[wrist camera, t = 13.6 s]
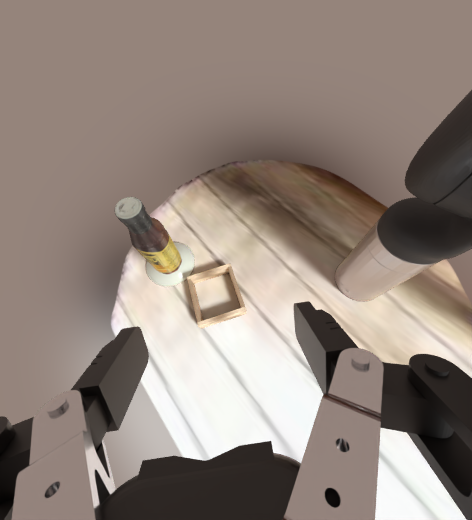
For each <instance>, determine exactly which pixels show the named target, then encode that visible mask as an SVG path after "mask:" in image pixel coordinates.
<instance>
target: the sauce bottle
mask: <svg viewBox="0 0 472 520" xmlns="http://www.w3.org/2000/svg"><path fill="white" fill-rule="evenodd" d="M115 214H116V216H117V217H118V219H119V220H120V221H121V222H123V223H124V224H125V225H126V226H127V227H128V229H129V232H130V237H131V241H132V244H133V246H134V247H135V248H136V249H137V250H138V251H139V252H140V254H141V255H142V256H143V257H144V258H145V259H146V260H147V261H148V262H149V263H150V264H151V265H152V266H153V267H154V268H155V269H156V270H157V271H158V272H160V273H163V274H171V273H173V272H176V271H177V270H178V269H179V267H180V265H181V263H182V259H181V256H180V253H179V251H178V250H177V248H176V246H175V244H174V243H173V241H172V239H171V237H170V236H169V234H168V232H167V231H166V230H165V228H164V226H163V225H162V224H161V223H160V222H159V221H158V220H157V219H155V218H151V217H150V216H149V215H148V214H147V212H146V211H145V207H144V205H143V204H142V202H141V201H140V200H139V199H137V198H135V197H128V198H124V199H122V200H121V201H119V202H118V203H117V205H116V207H115Z"/></svg>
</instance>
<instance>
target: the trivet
mask: <svg viewBox="0 0 472 520" xmlns="http://www.w3.org/2000/svg"><path fill="white" fill-rule="evenodd" d="M173 243H174V244H175V246H176V248H177V250H178V251H179V253H180V256H181V259H182V263H181V265H180V267H179V269H178V270H177V271H176V272H173V273H171V274H163V273H160V272H158V271H157V270H156V269H155V268H154V267H153V266H152V265H151V264H150V263H149V262H148V261H147V263H146V271H147V275H148V277H149V278H150V279H151V280H152V281H153V282H154V283H155V284H157V285H160V286H164V287H170V286H175V285H178V284H180V283H182V282H183V281H185V280H186V279H187V277H188V276H190V274H191V273H192V271H193V269H194V265H195V258H194V255H193V253H192V251H191V249H190V248H189V247H188V246H186V245H185V244H182V243H179V242H173Z"/></svg>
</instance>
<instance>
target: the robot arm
mask: <svg viewBox="0 0 472 520" xmlns="http://www.w3.org/2000/svg"><path fill="white" fill-rule="evenodd" d="M405 185H406V188H407V189H408V191H409V192H410V193H412V194H413V195H415V196H416V197H417V198H408V199H404V200H401V201H399V202H396V203H395V204H393V205H392V206H391V207H389V208H388V209H387V211H386V212H385V213H384V214H383V215H382V216H381V218H380V219H379V220H378V221H377V222H376V223H375V225H374V226H373V227H372V228H371V229H370V231H369V232H368V233H367V234H366V235H365V236H364V238H363V239H362V240H361V241H360V242H359V243H358V244H357V246H356V247H355V248H354V249H353V250H352V251H351V253H350V254H349V255H348V256H347V257H346V258H345V260H344V261H343V262H342V263H341V264H340V265H339V267H338V268H337V270H336V273H335V280H336V283H337V286H338V288H339V289H340V290H341V291H342V292H343V293H344V294H345V295H346V296H347V297H349V298H351V299H353V300H356V301H370V300H373V299H375V298H376V297H378V296H380V295H382V294H383V293H385V292H387V291H389V290H391V289H392V288H394V287H396V286H398V285H399V284H401V283H403V282H405V281H406V280H408V279H410V278H412V277H413V276H415V275H417V274H419V273H420V272H422V271H424V270H425V269H427V268H429V267H431V266H432V265H434V264H436V263H438V262H440V261H441V260H443V259H449V258H453V257H456V256H458V255H460V254H462V253H464V252H466V251H468V250H470V249H472V90H471V91H470V92H469V93H468V95H466V97H465V98H464V99H463V100H462V101H461V102H460V103H459V104H458V105H457V106H456V108H454V110H453V111H452V112H451V113H450V114H449V115H448V116H447V117H446V118H445V119H444V120H443V121H442V123H441V124H440V125H439V126H438V127H437V128H436V129H435V131H434V132H433V133H432V134H431V135H430V136H429V137H428V139H427V140H426V141H425V142H424V144H423V145H422V146H421V148H420V149H419V150H418V152H417V154H416V155H415V156H414V158H413V160H412V161H411V163H410V165H409V168H408V170H407V172H406V177H405ZM294 320H295V332H296V337H297V340H298V342H299V344H300V346H301V348H302V351H303V353H304V355H305V357H306V359H307V361H308V363H309V365H310V367H311V369H312V371H313V373H314V375H315V377H316V379H317V382H318V384H319V386H320V388H321V390H322V392H323V394H324V395H323V397H322V400H321V403H320V406H319V409H318V412H317V416H316V419H315V422H314V425H313V428H312V431H311V434H310V438H309V441H308V444H307V447H306V450H305V453H304V456H303V460H302V463H299V462H298V461H296V460H294V459H292V458H290V457H288V456H284V455H281V454H276V453H273V449H272V444H271V441H268V442H261V443H255V444H248V445H242V446H238V447H236V448H234V449H232V450H230V451H227V452H225V453H223V454H221V455H219V456H217V457H214V458H212V459H210V460H207V461H202V460H196V459H190V458H184V457H178V456H170V457H164V458H157V459H151V460H145V461H143V462H142V465H141V468H140V471H139V475H137V476H135V477H133V478H132V479H130V480H128V481H127V482H125V483H124V484H123V485H121V486H120V487H119V488H117V490H116V488H115V485H114V481H113V477H112V473H111V468H110V465H109V460H108V456H107V452H106V447H105V444H104V441H103V437H104V435H105V433H106V432H109V431H116V430H118V429H119V428H120V425H121V423H122V421H123V418H124V416H125V414H126V412H127V409H128V407H129V404H130V402H131V400H132V398H133V395H134V393H135V391H136V389H137V386H138V384H139V382H140V380H141V377H142V375H143V373H144V370H145V368H146V366H147V363H148V357H149V355H148V349H147V346H146V343H145V340H144V337H143V334H142V331H141V329H140V327H131V328H124V329H122V330H121V331H120V332H119V334H118V335H117V337H116V338H115V339H114V340H112V341H111V342H110V343H108V344H107V345H106V346H105V347H104V348H102V350H101V351H100V352H99V354H98V355H97V356H96V358H95V359H94V360H93V361H92V363H91V365H90V366H89V367H88V368H87V369H86V371H85V372H84V373H83V375H82V376H81V377H80V379H79V380H78V381H77V382H76V384H75V385H74V386H73V388H72V389H71V390H70V391H66V392H63V393H61V394H59V395H57V396H55V397H54V398H52V399H51V400H49V401H48V402H47V403H45V404H44V405H43V406H42V407H41V408H40V409H39V411H38V412H37V413H36V415H35V416H34V417H33V418H30V419H28V420H25V421H22V422H20V423H17V424H15V425H11V423H10V422H9V420H8V419H7V418H6V417H0V520H375V508H376V492H377V475H378V459H379V443H380V428H386V429H391V430H397V431H402V432H407V433H408V435H409V436H410V438H411V439H412V441H413V442H414V443H415V445H416V446H417V448H418V449H419V451H420V452H421V454H422V455H423V457H424V458H425V459H426V461H427V462H428V464H429V465H430V467H431V468H432V470H433V471H434V473H435V474H436V475H437V477H438V478H439V480H440V481H441V483H442V484H443V486H444V487H445V489H446V490H447V491H448V493H449V494H450V496H451V497H452V499H453V500H454V502H455V503H456V505H457V506H458V507H459V509H460V510H461V512H462V513H463V515H464V516H465V518H466V519H467V520H472V378H471V377H470V376H468V375H467V374H466V373H465V372H463V371H462V370H461V369H460V368H459V367H457V366H456V365H455V364H453V363H451V362H449V361H448V360H446V359H443V358H441V357H438V356H434V355H429V354H417V355H414V356H412V357H411V358H410V361H409V365H401V364H391V363H384V362H381V360H380V359H379V358H378V357H377V356H376V355H374V354H373V353H371V352H369V351H367V350H364V349H359V348H358V347H357V345H356V344H355V343H354V342H353V341H352V340H351V338H350V337H349V336H348V335H347V334H346V332H345V331H344V330H343V329H342V328H341V326H340V325H339V324H338V323H336V321H335V319H334V318H333V317H332V316H331V315H330V314H329V313H327V312H325V311H323V310H315V308H314V307H313V306H312V304H311V303H310V302H309V301H308V302H301V303H295V304H294Z"/></svg>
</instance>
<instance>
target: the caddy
mask: <svg viewBox="0 0 472 520" xmlns="http://www.w3.org/2000/svg"><path fill="white" fill-rule="evenodd" d="M227 273H229V274H230V277H231V280H232V283H233V286H234V289H235V292H236V295H237V298H238V301H239V304H240V307H241V308H239V309H236V310H233V311H230V312H227V313H224V314H221V315H218V316H215V317H212V318H209V319H206V320H203V318H202V314H201V310H200V306H199V302H198V298H197V294H196V290H195V286H194V284H195V283H199V282H202V281H205V280H208V279H211V278H214V277H217V276H221V275H224V274H227ZM187 280H188V284H189V289H190V293H191V297H192V302H193V306H194V310H195V314H196V319H197V323H198V326H199V327H200V328H201V329H202V328H205V327H208V326H211V325H214V324H217V323H220V322H223V321H226V320H229V319H232V318H235V317H238V316H241V315H244V314H246V308H245V305H244V302H243V299H242V296H241V294H240V291H239V288H238V285H237V282H236V279H235V276H234V273H233V270H232V267H231V264H230V263H229V264H226V265H223V266H220V267H217V268H213V269H210V270H207V271H204V272H201V273H197V274H194V275H191V276H188V277H187Z"/></svg>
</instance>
